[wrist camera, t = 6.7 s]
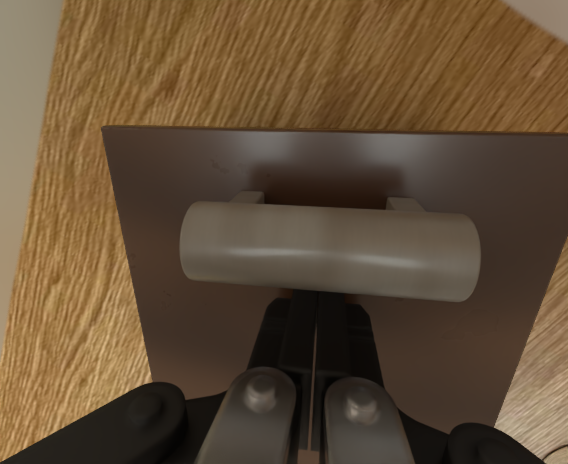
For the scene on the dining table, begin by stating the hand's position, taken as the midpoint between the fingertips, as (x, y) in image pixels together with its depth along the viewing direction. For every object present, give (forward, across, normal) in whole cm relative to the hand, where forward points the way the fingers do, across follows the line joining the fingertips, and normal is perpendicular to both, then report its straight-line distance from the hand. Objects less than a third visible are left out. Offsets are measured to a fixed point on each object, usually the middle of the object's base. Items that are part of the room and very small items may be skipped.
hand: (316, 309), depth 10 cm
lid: (+1, 0, +3) cm, 3 cm away
